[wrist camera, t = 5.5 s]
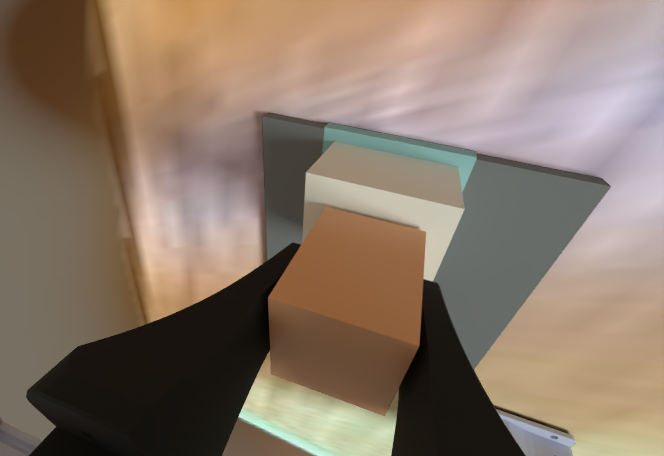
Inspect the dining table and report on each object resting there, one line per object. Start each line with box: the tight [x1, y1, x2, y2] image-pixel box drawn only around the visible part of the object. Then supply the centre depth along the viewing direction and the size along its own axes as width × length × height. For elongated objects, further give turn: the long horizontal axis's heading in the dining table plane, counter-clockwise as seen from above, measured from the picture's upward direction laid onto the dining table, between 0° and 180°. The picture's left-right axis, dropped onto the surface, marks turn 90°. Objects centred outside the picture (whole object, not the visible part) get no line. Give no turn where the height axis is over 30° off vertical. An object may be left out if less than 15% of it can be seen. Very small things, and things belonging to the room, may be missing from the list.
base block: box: [302, 141, 465, 281], centre depth 14 cm, size 6×6×4 cm
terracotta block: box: [268, 207, 426, 416], centre depth 11 cm, size 4×4×5 cm
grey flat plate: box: [262, 113, 611, 369], centre depth 18 cm, size 16×15×1 cm
